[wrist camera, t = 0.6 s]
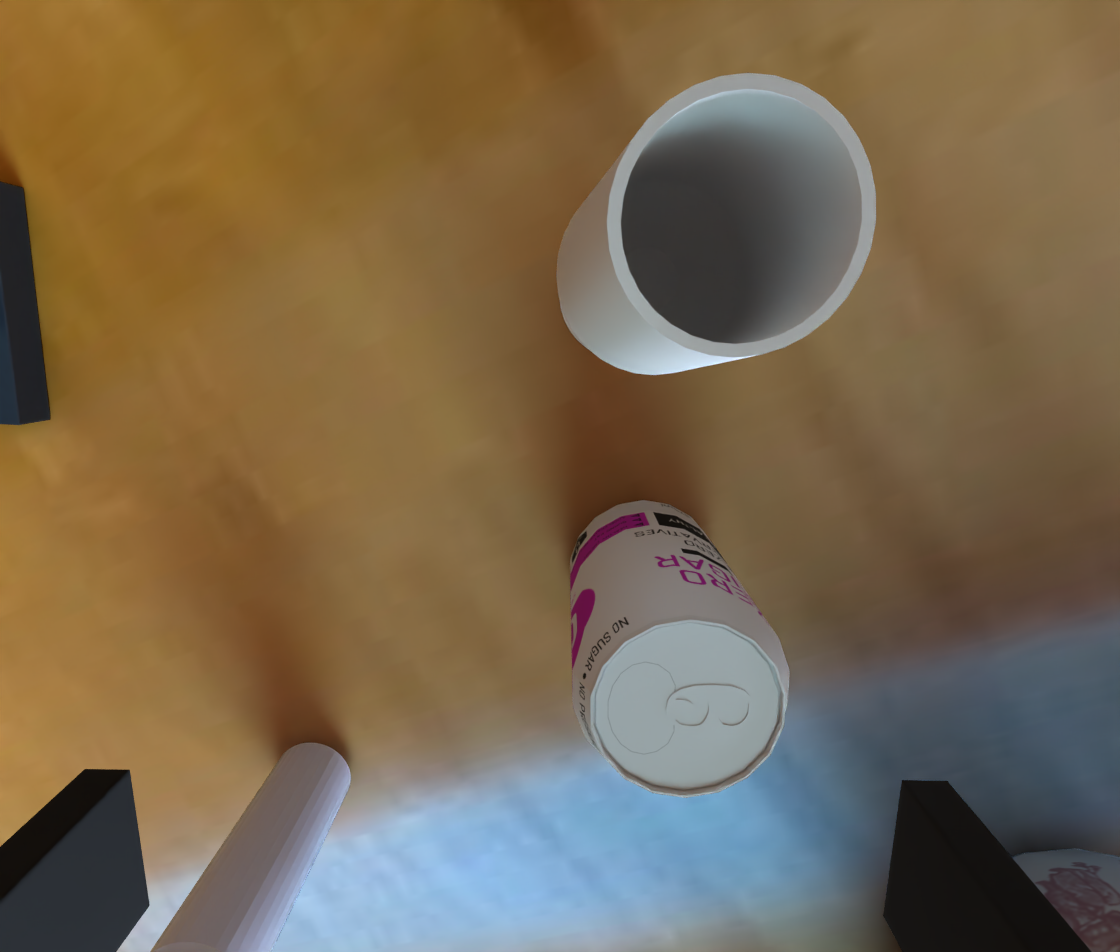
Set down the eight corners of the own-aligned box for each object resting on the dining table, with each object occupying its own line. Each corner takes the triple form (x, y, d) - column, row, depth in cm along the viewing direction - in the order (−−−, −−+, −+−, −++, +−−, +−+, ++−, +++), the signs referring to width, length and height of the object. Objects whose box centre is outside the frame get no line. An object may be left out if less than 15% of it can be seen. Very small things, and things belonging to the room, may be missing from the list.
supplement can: (570, 633, 39) (574, 813, 25) (569, 497, 38) (571, 603, 23) (709, 632, 39) (795, 812, 24) (714, 495, 37) (810, 601, 23)
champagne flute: (688, 227, 34) (955, 3, 11) (684, 359, 36) (913, 410, 12) (558, 228, 34) (547, 8, 11) (559, 360, 36) (551, 413, 12)
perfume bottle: (295, 710, 40) (42, 1064, 21) (380, 752, 41) (211, 1135, 21) (256, 783, 41) (-19, 1184, 22) (339, 823, 42) (143, 1250, 22)
